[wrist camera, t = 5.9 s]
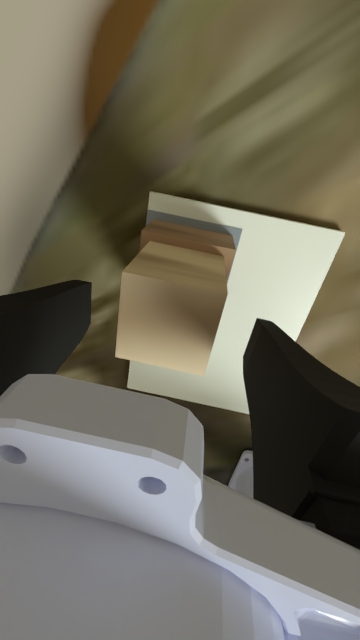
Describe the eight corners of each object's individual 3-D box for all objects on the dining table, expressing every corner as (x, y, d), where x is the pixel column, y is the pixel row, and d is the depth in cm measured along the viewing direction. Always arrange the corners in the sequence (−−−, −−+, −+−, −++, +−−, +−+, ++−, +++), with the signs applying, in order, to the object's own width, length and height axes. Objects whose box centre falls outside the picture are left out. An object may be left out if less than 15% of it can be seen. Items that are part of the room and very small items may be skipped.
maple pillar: (207, 321, 17) (204, 376, 12) (141, 307, 17) (115, 356, 12) (224, 256, 15) (227, 294, 10) (149, 240, 15) (122, 271, 10)
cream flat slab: (259, 411, 25) (261, 417, 25) (128, 383, 25) (126, 388, 25) (341, 230, 17) (345, 232, 17) (151, 191, 17) (149, 192, 17)
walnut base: (213, 305, 20) (213, 330, 17) (144, 291, 20) (132, 313, 17) (232, 235, 18) (236, 249, 15) (154, 219, 18) (141, 229, 15)
